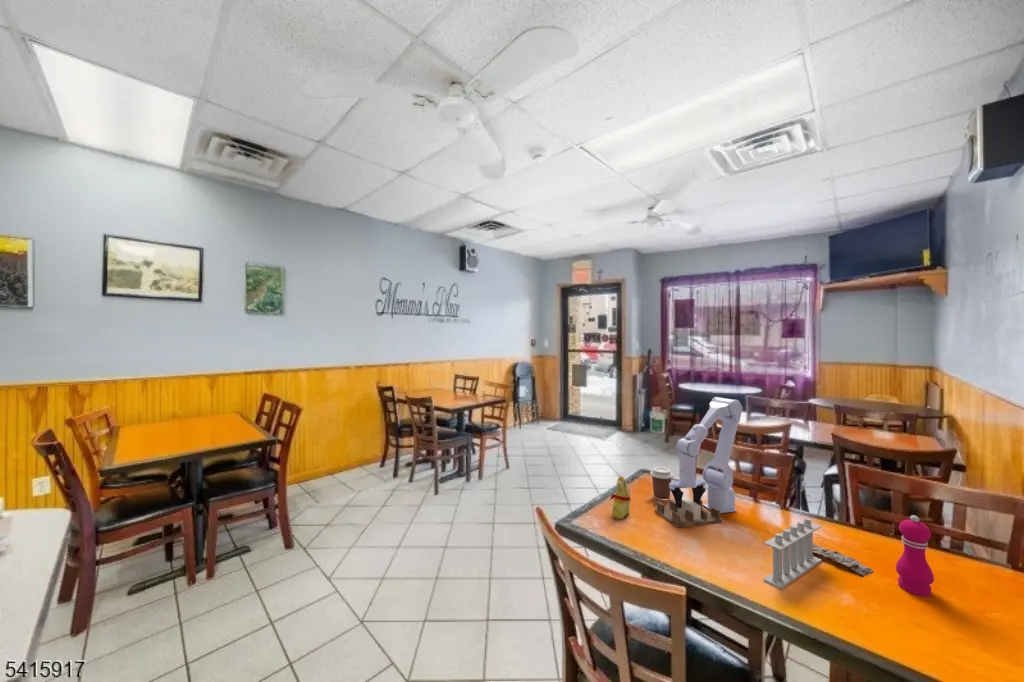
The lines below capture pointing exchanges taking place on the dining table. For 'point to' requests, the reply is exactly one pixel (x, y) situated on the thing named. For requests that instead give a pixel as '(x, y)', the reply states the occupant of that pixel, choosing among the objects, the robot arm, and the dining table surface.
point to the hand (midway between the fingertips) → (687, 506)
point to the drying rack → (687, 515)
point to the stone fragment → (843, 560)
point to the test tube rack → (792, 553)
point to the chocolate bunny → (621, 499)
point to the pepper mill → (914, 558)
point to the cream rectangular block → (690, 508)
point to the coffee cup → (661, 482)
